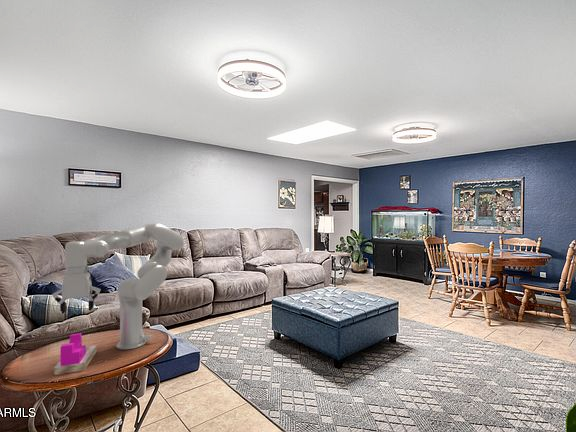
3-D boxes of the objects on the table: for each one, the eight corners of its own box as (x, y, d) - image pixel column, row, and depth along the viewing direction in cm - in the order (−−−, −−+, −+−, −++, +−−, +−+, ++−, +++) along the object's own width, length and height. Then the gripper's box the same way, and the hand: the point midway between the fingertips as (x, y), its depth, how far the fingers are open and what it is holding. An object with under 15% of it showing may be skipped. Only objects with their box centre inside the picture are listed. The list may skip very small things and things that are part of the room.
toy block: (79, 363, 123) (79, 344, 124) (60, 366, 121) (60, 346, 121) (88, 349, 137) (88, 332, 138) (71, 351, 135) (71, 334, 135)
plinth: (96, 352, 142) (96, 345, 142) (84, 370, 124) (84, 362, 124) (70, 355, 138) (70, 348, 138) (54, 375, 120) (54, 367, 120)
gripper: (101, 267, 138) (102, 306, 138) (55, 271, 133) (56, 311, 132) (97, 270, 131) (98, 311, 131) (48, 273, 126) (49, 316, 125)
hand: (77, 311), depth 132 cm, fingers open, 9 cm apart
